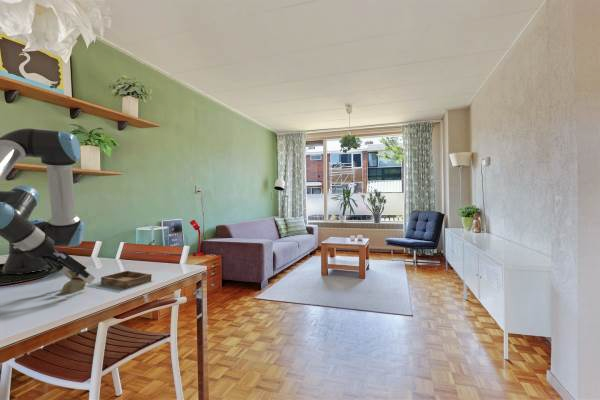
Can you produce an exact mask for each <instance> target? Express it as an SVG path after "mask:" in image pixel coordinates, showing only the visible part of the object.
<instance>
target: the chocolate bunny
mask: <svg viewBox="0 0 600 400" xmlns="http://www.w3.org/2000/svg"><path fill="white" fill-rule="evenodd" d="M68 272H69V273H70V274H71V275H72V279H71V280H70V279H69V281H67V282H66V283H64V284H63V286H62V288H61V290H60V293H59V294H60V295H65V294H67V295H69V294H74V293H77V292H80V291H84V290H85V289H86V288H85V287H86V284H88V283H87V282H85V281H84V280H83V279H81V278H80V277H79V276H75V275H76V273H75V272H73V271H71V270H70V269H69V270H68Z"/></svg>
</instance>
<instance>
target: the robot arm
mask: <svg viewBox="0 0 600 400" xmlns="http://www.w3.org/2000/svg"><path fill="white" fill-rule="evenodd" d="M25 158H40V160H41V161H40V162H41V164H42V165H43V166H45V167H46V175H47V184H48V192H49V201H50V202H49V203H50V211H51V217H50V218H49V217H48V218H49V219H47V220H46V218H35V219H30V218H29V217H31V214H32V213H33V211H34V210H35V208H36V207H37V205H38V202H39V200H40V193H39V192H38V191H37V189H35V188H33V187H31V186H29V185H24V184H23V185H18V186H14V187H13V188H12V189H10V190H9V191H6V190H0V237H1V238H3V239H4V240H6V241H7V243H8V256H7V258H6V260H5V262H4V265H3V266H2V274H3V275H6V274H17V273H27V272H32V271H37V270H41V269H44V268H47V267H49V268H50V269H51V270H55V271H57V272H59V273H60V274H61V275H63V276H65V277H66V278H67V279H69V281H70V280H71V279H72V275H71V274H70V273H69V272H68V270H69V269H70V270H71V271H73V272H75V273H76V275H75V276H79V277H80V278H81V279H83V280H84V281H85V282H87V283H86V284H87V285H90V284H93V283H92V282H93V281H94V280H95V279H96V277H95V276H94V275H93V274H91V273H90V272H89V271H87V270H86V269H87V266H85V265H83V264H82V263H81V262H79V261H78V260H76V259H75V258H73V257H72V256H70V255H69V254H68V253H67V251H62V252H61V250H59V249H58V247H59V248H61V247H62V248H63V247H64V248H65V247H67V248H69V247H77V246H79V245H81V244H82V242H83V239H84V236H85V231H86V223H85V221H81V218H80V216H79V215H77V214H76V204H75V203H76V202H75V190H74V189H75V188H74V178H73V176H74V174H73V166H75V165H76V163H77V161H80V158H81V146H80V143H79V140H78V138H77V136H76V135H75V134H73V133H71V132H67V131H66V132H65V131H59V130H49V129H37V128H35V129H34V128H20V129H16V130H13V131H9V132H7V133H5V134H3V135H2V136H0V185H1V184H2V182H3V181H4V180H5V179H6V178H7V176H8V175H9V174H10V172H11V171H12V169H13V168H14V167H15V165H16V164H17V163H18V162H20V161H22V160H24V159H25ZM56 247H57V248H56Z"/></svg>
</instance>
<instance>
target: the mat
mask: <svg viewBox="0 0 600 400" xmlns="http://www.w3.org/2000/svg"><path fill="white" fill-rule="evenodd" d="M150 283H154V282H153V280H151V281H150V282H147V283H143V284H140V285H137V286H134V287H131V288H128V289H125V288H119V287H113V286H108V285H102V284H101V281H97V282H94V283H91V284H87V285H86V284H85V287H88V288H91V289H92V288H94V289H97V290H103V291H108V292H113V293H118V294H119V293H122V292H124V291H125V292H126V291H128V290H131V289H134V288H138V287H141V286H144V285H147V284H150Z"/></svg>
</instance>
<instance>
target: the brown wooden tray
mask: <svg viewBox="0 0 600 400" xmlns="http://www.w3.org/2000/svg"><path fill="white" fill-rule="evenodd" d="M150 281H152V274H151V273H145V272H140V271H139V272H137V271H131V270H124V271H120V272H116V273H113V274H112V273H111V274H108V275H105V276H101V277H100V282H101V284H102V285H108V286H113V287H119V288H125V289H128V288H131V287H134V286H137V285H140V284H143V283H147V282H150ZM150 283H151V282H150ZM147 284H148V283H147Z"/></svg>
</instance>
